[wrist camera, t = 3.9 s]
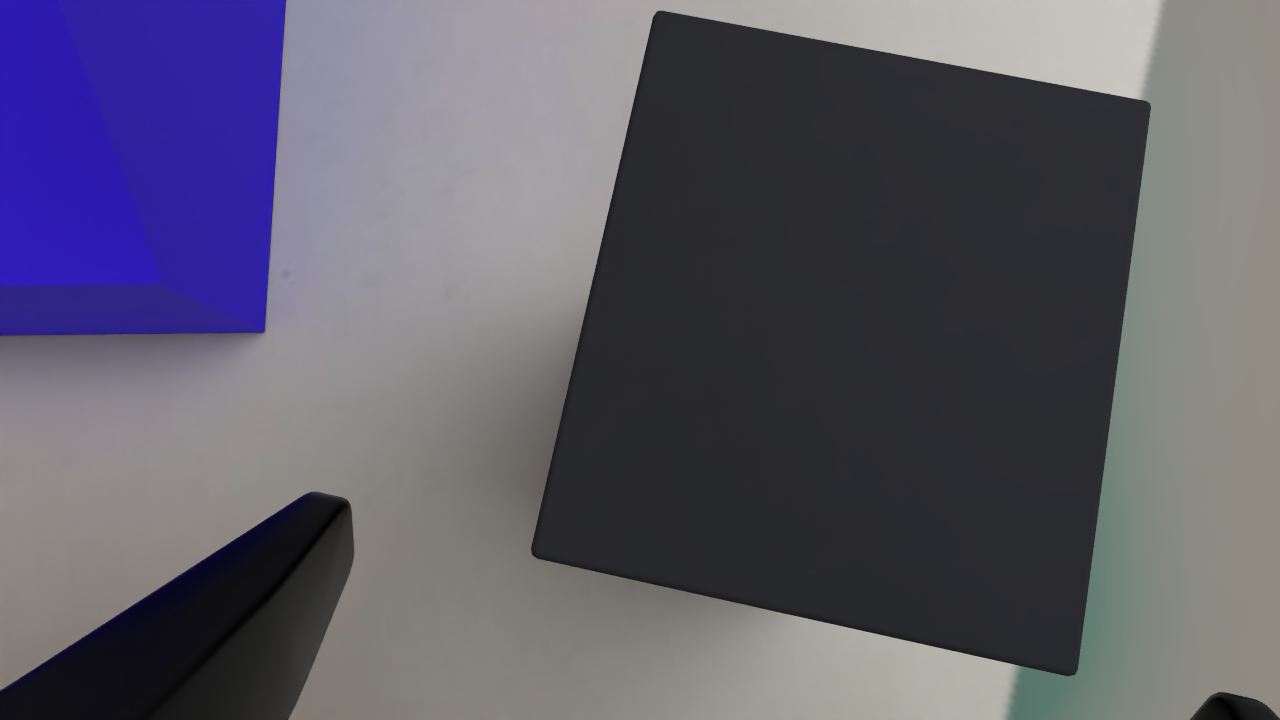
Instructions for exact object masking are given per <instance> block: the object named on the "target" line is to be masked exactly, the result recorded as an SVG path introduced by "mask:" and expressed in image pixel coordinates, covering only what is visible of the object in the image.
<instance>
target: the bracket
mask: <svg viewBox="0 0 1280 720" xmlns="http://www.w3.org/2000/svg"><path fill="white" fill-rule="evenodd" d="M285 4H286V0H0V335H81V334H171V333H261V332H265V316H266V301H267V285H268V269H269V254H270V238H271V223H272V207H273V191H274V176H275V160H276V145H277V129H278V113H279V98H280V82H281V67H282V51H283V36H284V20H285Z"/></svg>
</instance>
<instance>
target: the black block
mask: <svg viewBox="0 0 1280 720" xmlns="http://www.w3.org/2000/svg"><path fill="white" fill-rule="evenodd" d="M1150 110H1151V106H1150V103H1148V102H1147V101H1143V100H1137V99H1132V98H1127V97H1121V96H1116V95H1110V94H1105V93H1100V92H1094V91H1089V90H1084V89H1078V88H1073V87H1068V86H1062V85H1057V84H1052V83H1046V82H1041V81H1036V80H1030V79H1025V78H1019V77H1014V76H1009V75H1003V74H998V73H993V72H987V71H982V70H977V69H971V68H966V67H961V66H955V65H950V64H944V63H939V62H934V61H928V60H923V59H918V58H912V57H907V56H902V55H896V54H891V53H886V52H880V51H875V50H869V49H864V48H859V47H853V46H848V45H843V44H837V43H832V42H827V41H821V40H816V39H811V38H805V37H800V36H794V35H789V34H784V33H778V32H773V31H768V30H762V29H757V28H752V27H746V26H741V25H736V24H730V23H725V22H719V21H714V20H709V19H703V18H698V17H693V16H687V15H682V14H677V13H671V12H666V11H657V12H656V14H655V15H654V17H653V20H652V25H651V29H650V33H649V38H648V42H647V46H646V51H645V55H644V60H643V64H642V68H641V73H640V77H639V81H638V86H637V90H636V94H635V99H634V103H633V107H632V112H631V116H630V120H629V125H628V129H627V133H626V138H625V142H624V146H623V151H622V155H621V160H620V164H619V168H618V173H617V177H616V181H615V186H614V190H613V194H612V199H611V203H610V207H609V212H608V216H607V220H606V225H605V229H604V233H603V238H602V242H601V247H600V251H599V255H598V260H597V264H596V268H595V273H594V277H593V281H592V286H591V290H590V294H589V299H588V303H587V307H586V312H585V316H584V320H583V325H582V329H581V334H580V338H579V342H578V347H577V351H576V355H575V360H574V364H573V368H572V373H571V377H570V381H569V386H568V390H567V394H566V399H565V403H564V407H563V412H562V416H561V421H560V425H559V429H558V434H557V438H556V442H555V447H554V451H553V455H552V460H551V464H550V468H549V473H548V477H547V481H546V486H545V490H544V494H543V499H542V503H541V508H540V512H539V516H538V521H537V525H536V529H535V534H534V538H533V542H532V547H531V551H532V555H533V556H535V557H536V558H537V559H542V560H546V561H551V562H555V563H560V564H564V565H569V566H573V567H578V568H582V569H587V570H591V571H596V572H600V573H605V574H609V575H614V576H618V577H623V578H627V579H632V580H636V581H641V582H645V583H650V584H654V585H659V586H663V587H668V588H672V589H677V590H681V591H686V592H691V593H695V594H700V595H704V596H709V597H713V598H718V599H722V600H727V601H731V602H736V603H740V604H745V605H749V606H754V607H758V608H763V609H767V610H772V611H776V612H781V613H785V614H790V615H794V616H799V617H803V618H808V619H812V620H817V621H821V622H826V623H830V624H835V625H839V626H844V627H848V628H853V629H857V630H862V631H866V632H871V633H875V634H880V635H884V636H889V637H893V638H898V639H902V640H907V641H911V642H916V643H920V644H925V645H929V646H934V647H938V648H943V649H947V650H952V651H956V652H961V653H965V654H970V655H974V656H979V657H983V658H988V659H992V660H997V661H1001V662H1006V663H1010V664H1015V665H1019V666H1024V667H1028V668H1034V669H1038V670H1042V671H1046V672H1051V673H1055V674H1060V675H1065V676H1071V675H1075V674H1076V672H1077V670H1078V663H1079V655H1080V647H1081V639H1082V632H1083V623H1084V616H1085V608H1086V601H1087V593H1088V586H1089V578H1090V570H1091V563H1092V555H1093V548H1094V540H1095V531H1096V524H1097V517H1098V509H1099V501H1100V494H1101V486H1102V477H1103V470H1104V463H1105V455H1106V448H1107V440H1108V432H1109V425H1110V417H1111V409H1112V402H1113V394H1114V386H1115V379H1116V371H1117V363H1118V356H1119V347H1120V340H1121V333H1122V325H1123V317H1124V309H1125V302H1126V294H1127V286H1128V279H1129V271H1130V263H1131V256H1132V248H1133V240H1134V232H1135V225H1136V217H1137V209H1138V201H1139V194H1140V187H1141V179H1142V171H1143V163H1144V156H1145V148H1146V140H1147V133H1148V125H1149V117H1150Z"/></svg>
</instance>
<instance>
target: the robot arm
mask: <svg viewBox="0 0 1280 720" xmlns="http://www.w3.org/2000/svg"><path fill="white" fill-rule="evenodd" d="M353 559H354V539H353V524H352V510H351V505H350V503H349V501H348V500H347V499H345V498H343V497H339V496H334V495H330V494H325V493H321V492H310V493H307V494H305V495H303V496H302V497H300V498H298V499H297V500H295V501H294V502H292V503H291V504H289V505H288V506H286V507H284V508H283V509H281V510H280V511H278V512H277V513H275V514H274V515H272V516H271V517H269V518H267V519H266V520H264V521H263V522H261V523H260V524H258V525H257V526H255V527H253V528H252V529H250V530H249V531H247V532H246V533H244V534H243V535H241V536H240V537H238V538H236V539H235V540H233V541H232V542H230V543H229V544H227V545H226V546H224V547H222V548H221V549H219V550H218V551H216V552H215V553H213V554H212V555H210V556H209V557H207V558H205V559H204V560H202V561H201V562H199V563H198V564H196V565H195V566H193V567H191V568H190V569H188V570H187V571H185V572H184V573H182V574H181V575H179V576H178V577H176V578H174V579H173V580H171V581H170V582H168V583H167V584H165V585H164V586H162V587H160V588H159V589H157V590H156V591H154V592H153V593H151V594H150V595H148V596H147V597H145V598H143V599H142V600H140V601H139V602H137V603H136V604H134V605H133V606H131V607H129V608H128V609H126V610H125V611H123V612H122V613H120V614H119V615H117V616H116V617H114V618H112V619H111V620H109V621H108V622H106V623H105V624H103V625H102V626H100V627H98V628H97V629H95V630H94V631H92V632H91V633H89V634H88V635H86V636H85V637H83V638H81V639H80V640H78V641H77V642H75V643H74V644H72V645H71V646H69V647H67V648H66V649H64V650H63V651H61V652H60V653H58V654H57V655H55V656H54V657H52V658H50V659H49V660H47V661H46V662H44V663H43V664H41V665H40V666H38V667H36V668H35V669H33V670H32V671H30V672H29V673H27V674H26V675H24V676H23V677H21V678H19V679H18V680H16V681H15V682H13V683H12V684H10V685H9V686H7V687H5V688H4V689H2V690H1V691H0V720H288V719H289V717H290V715H291V713H292V711H293V709H294V707H295V705H296V703H297V701H298V699H299V696H300V694H301V692H302V689H303V687H304V685H305V682H306V680H307V677H308V675H309V673H310V670H311V668H312V665H313V663H314V660H315V658H316V655H317V653H318V650H319V648H320V645H321V643H322V640H323V638H324V635H325V633H326V631H327V628H328V626H329V623H330V621H331V618H332V616H333V613H334V611H335V608H336V606H337V603H338V601H339V598H340V596H341V593H342V591H343V589H344V586H345V584H346V581H347V579H348V576H349V574H350V571H351V567H352V564H353ZM1190 720H1280V718H1279V717H1278V716H1277V715H1276V714H1275V713H1274V712H1273V711H1272V710H1271V709H1270V708H1269V707H1268V706H1267V705H1265V704H1263V703H1262V702H1260V701H1258V700H1255V699H1252V698H1247V697H1243V696H1238V695H1234V694H1229V693H1224V692H1219V693H1216V694H1213V695H1211V696H1210V697H1209V698H1208V699H1207V700H1206V701H1205V702H1204V704H1203V705H1202V706H1201V707H1200V708H1199V710H1198V711H1197V712H1196V713H1195V714H1194V715H1193V717H1192V718H1191V719H1190Z"/></svg>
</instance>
